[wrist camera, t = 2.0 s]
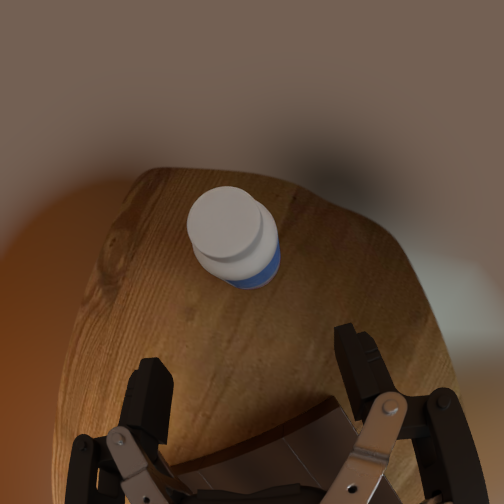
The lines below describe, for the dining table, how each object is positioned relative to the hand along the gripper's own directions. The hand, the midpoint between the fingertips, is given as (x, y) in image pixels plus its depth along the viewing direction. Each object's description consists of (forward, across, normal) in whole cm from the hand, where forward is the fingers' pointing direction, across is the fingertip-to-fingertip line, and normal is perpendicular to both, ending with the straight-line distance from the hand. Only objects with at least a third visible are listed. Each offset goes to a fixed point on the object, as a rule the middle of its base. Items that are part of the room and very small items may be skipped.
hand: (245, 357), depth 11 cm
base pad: (-4, +1, +20) cm, 20 cm away
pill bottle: (+13, 0, +3) cm, 13 cm away
